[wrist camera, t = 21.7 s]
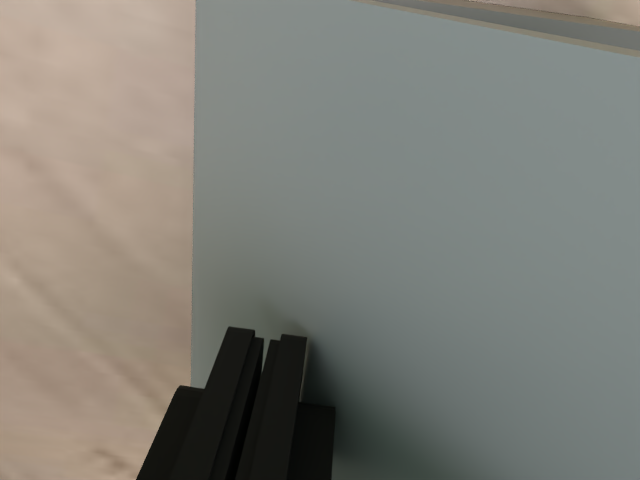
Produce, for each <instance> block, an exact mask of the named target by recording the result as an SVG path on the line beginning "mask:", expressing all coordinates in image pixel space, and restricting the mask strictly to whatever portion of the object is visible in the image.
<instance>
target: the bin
mask: <svg viewBox="0 0 640 480" xmlns="http://www.w3.org/2000/svg"><path fill="white" fill-rule="evenodd" d="M372 1H377V2H383V3H388V4H393V5H399V6H404V7H409V8H415V9H420V10H425V11H430V12H436V13H441V14H446V15H452V16H457V17H462V18H468V19H473V20H478V21H484V22H489V23H494V24H499V25H505V26H510V27H515V28H521V29H526V30H531V31H537V32H542V33H547V34H553V35H558V36H563V37H568V38H574V39H579V40H584V41H590V42H595V43H600V44H606V45H611V46H616V47H622V48H627V49H632V50H638V51H640V27H639V26H633V25H628V24H622V23H616V22H611V21H605V20H599V19H594V18H588V17H581V16H573V15H566V14H559V13H552V12H545V11H538V10H531V9H524V8H516V7H509V6H502V5H495V4H488V3H481V2H474V1H467V0H372Z"/></svg>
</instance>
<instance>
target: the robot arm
mask: <svg viewBox="0 0 640 480" xmlns="http://www.w3.org/2000/svg"><path fill="white" fill-rule="evenodd" d="M306 345H307V337H303V336H296V335H288V334H282V335H281V338H280V340H273V339H271V340H270V343H269V347H268V351H267V355H266V359H265V363H264V367H263V371H262V363H263V350H264V338H259V337H255V330H253V329H245V328H238V327H231V326H229V327H228V329H227V331H226V333H225V336H224V339H223V341H222V344H221V346H220V349H219V352H218V354H217V357H216V360H215V362H214V365H213V367H212V370H211V373H210V375H209V378H208V381H207V383H206V386H205V388H204V389H203V388H196V387H189V386H181V385H180V386H179V387H178V388H177V390H176V392H175V394H174V396H173V398H172V400H171V403H170V405H169V407H168V409H167V412H166V414H165V416H164V418H163V421H162V423H161V425H160V427H159V430H158V432H157V434H156V436H155V439H154V441H153V443H152V445H151V448H150V450H149V452H148V454H147V456H146V459H145V461H144V463H143V465H142V468H141V470H140V472H139V474H138V477H137V479H136V480H331V479H332V463H333V446H334V430H335V412H336V409H335V407H332V406H325V405H318V404H310V403H303V402H299V400H300V392H301V384H302V376H303V368H304V360H305V352H306Z"/></svg>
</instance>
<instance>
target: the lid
mask: <svg viewBox="0 0 640 480" xmlns="http://www.w3.org/2000/svg"><path fill="white" fill-rule="evenodd" d="M229 326H231V327H238V328H245V329H253V330H255V337H259V338H264V350H263V363H262V371H263V367H264V363H265V359H266V355H267V351H268V347H269V343H270V340H271V339H273V340H280V338H281V335H282V334H288V335H296V336H303V337H307V345H306V352H305V360H304V368H303V376H302V384H301V392H300V400H299V402H303V403H310V404H318V405H325V406H332V407H335V409H336V412H335V430H334V446H333V463H332V479H331V480H640V51H638V50H632V49H627V48H622V47H616V46H611V45H606V44H600V43H595V42H590V41H584V40H579V39H574V38H568V37H563V36H558V35H553V34H547V33H542V32H537V31H531V30H526V29H521V28H515V27H510V26H505V25H499V24H494V23H489V22H484V21H478V20H473V19H468V18H462V17H457V16H452V15H446V14H441V13H436V12H430V11H425V10H420V9H415V8H409V7H404V6H399V5H393V4H388V3H383V2H377V1H372V0H196V31H195V108H194V184H193V261H192V337H191V387H196V388H203V389H204V388H205V386H206V383H207V381H208V378H209V375H210V373H211V370H212V367H213V365H214V362H215V360H216V357H217V354H218V352H219V349H220V346H221V344H222V341H223V339H224V336H225V333H226V331H227V329H228V327H229Z"/></svg>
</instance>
